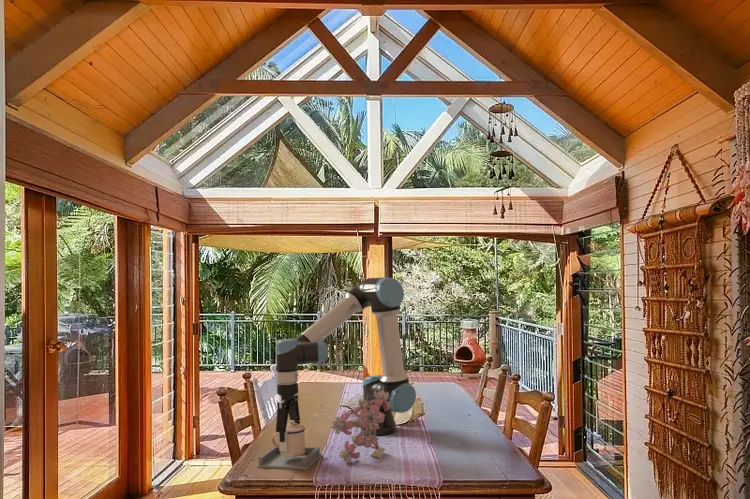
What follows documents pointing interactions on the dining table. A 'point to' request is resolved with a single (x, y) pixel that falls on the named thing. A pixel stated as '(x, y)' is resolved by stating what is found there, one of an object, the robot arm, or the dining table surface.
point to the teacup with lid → (293, 440)
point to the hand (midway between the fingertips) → (288, 446)
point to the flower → (363, 426)
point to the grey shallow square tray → (289, 459)
